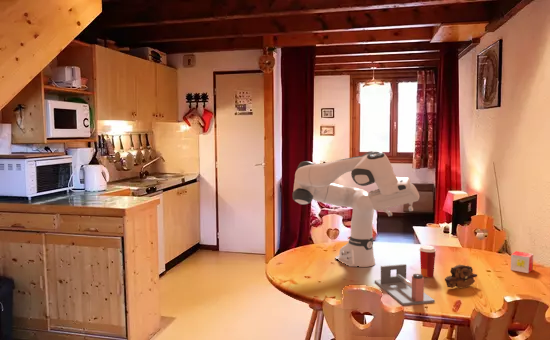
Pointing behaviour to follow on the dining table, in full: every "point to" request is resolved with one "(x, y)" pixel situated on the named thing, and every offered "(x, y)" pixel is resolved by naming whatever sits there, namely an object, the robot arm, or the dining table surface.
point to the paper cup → (427, 260)
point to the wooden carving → (460, 277)
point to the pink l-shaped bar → (415, 286)
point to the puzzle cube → (521, 262)
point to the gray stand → (399, 285)
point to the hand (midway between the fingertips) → (401, 213)
